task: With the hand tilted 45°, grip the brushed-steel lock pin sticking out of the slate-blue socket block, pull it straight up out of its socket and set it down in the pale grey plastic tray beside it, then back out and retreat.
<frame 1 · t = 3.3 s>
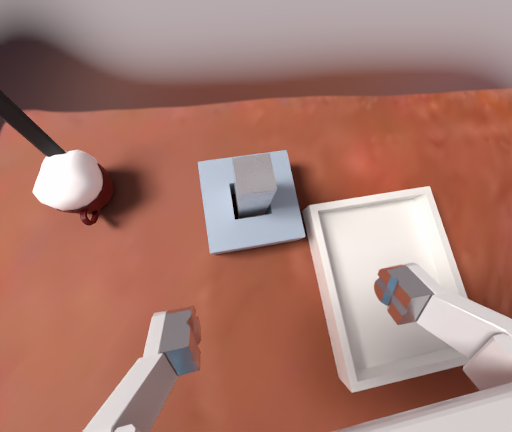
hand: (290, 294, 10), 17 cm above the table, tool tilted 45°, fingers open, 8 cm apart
tray: (378, 277, 27), on the table
lock pin: (251, 194, 23), in the socket block
cocoa: (96, 191, 28), on the table
socket block: (249, 207, 28), on the table
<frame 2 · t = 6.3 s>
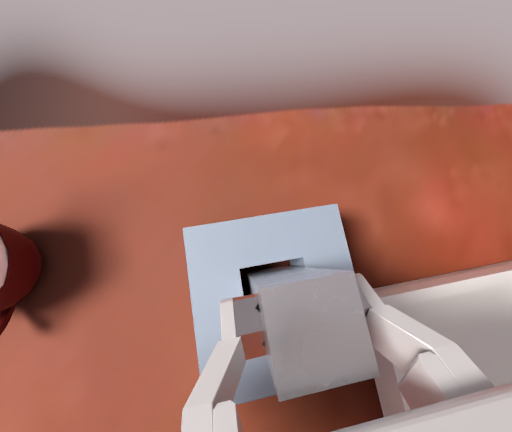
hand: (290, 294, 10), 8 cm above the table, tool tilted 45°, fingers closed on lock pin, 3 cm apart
tray: (479, 404, 17), on the table
lock pin: (282, 300, 12), in the socket block, touching gripper
cocoa: (16, 265, 17), on the table
socket block: (269, 289, 17), on the table
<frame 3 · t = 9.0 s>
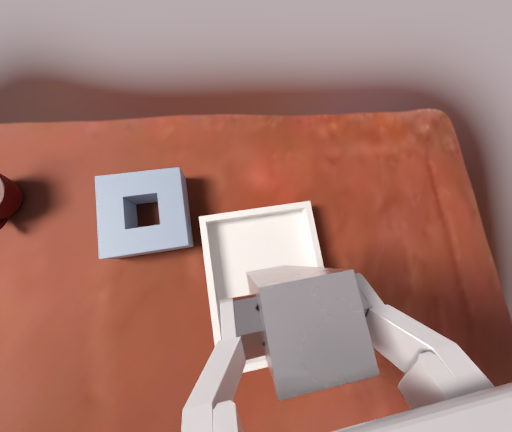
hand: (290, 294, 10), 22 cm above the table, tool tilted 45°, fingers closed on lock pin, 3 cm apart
tray: (265, 279, 31), on the table
lock pin: (282, 300, 12), point 20 cm above the table, touching gripper
cocoa: (8, 199, 30), on the table
socket block: (152, 216, 31), on the table
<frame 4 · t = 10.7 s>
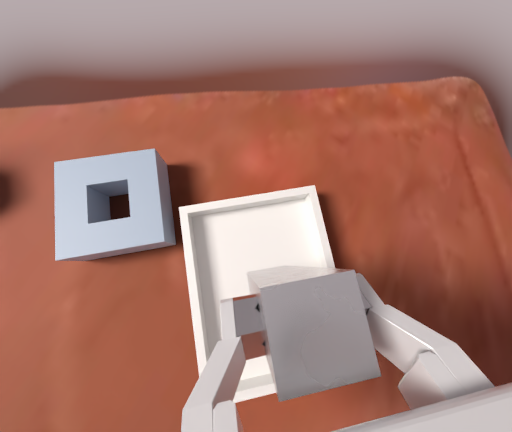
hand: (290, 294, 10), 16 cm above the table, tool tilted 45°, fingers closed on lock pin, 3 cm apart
tray: (262, 282, 26), on the table
lock pin: (282, 300, 12), point 14 cm above the table, touching gripper
socket block: (128, 210, 26), on the table
when the fingers open (10 cm above the table, at t = 12.0 s): lock pin drops 2 cm, resting on tray.
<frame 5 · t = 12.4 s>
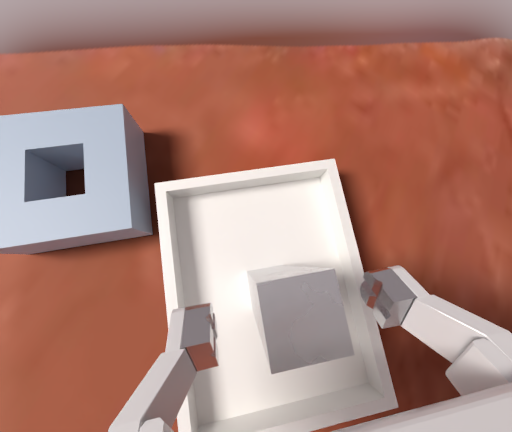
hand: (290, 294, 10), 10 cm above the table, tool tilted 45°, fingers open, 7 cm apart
tray: (265, 285, 20), on the table
lock pin: (278, 295, 13), in the tray, point 6 cm above the table
socket block: (90, 188, 20), on the table
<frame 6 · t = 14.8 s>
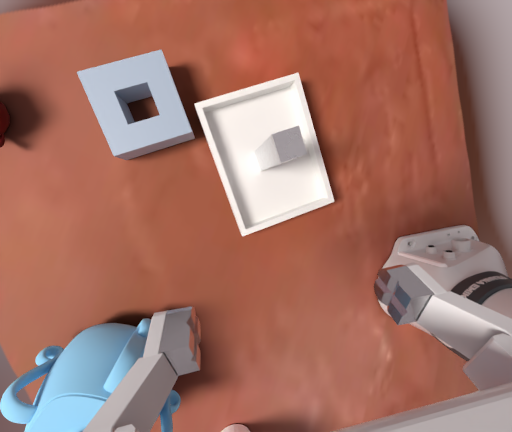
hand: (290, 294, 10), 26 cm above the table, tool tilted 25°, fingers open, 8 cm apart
tray: (265, 159, 35), on the table
decorative pot: (125, 358, 35), on the table
lock pin: (276, 152, 29), in the tray, point 6 cm above the table
socket block: (147, 113, 32), on the table
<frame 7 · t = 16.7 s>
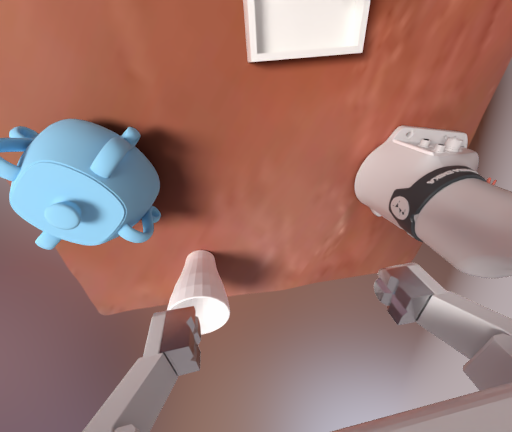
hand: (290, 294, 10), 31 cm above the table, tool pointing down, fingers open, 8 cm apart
cup: (200, 259, 49), on the table
decorative pot: (107, 170, 36), on the table
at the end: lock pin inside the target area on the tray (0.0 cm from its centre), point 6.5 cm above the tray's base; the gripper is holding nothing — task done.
